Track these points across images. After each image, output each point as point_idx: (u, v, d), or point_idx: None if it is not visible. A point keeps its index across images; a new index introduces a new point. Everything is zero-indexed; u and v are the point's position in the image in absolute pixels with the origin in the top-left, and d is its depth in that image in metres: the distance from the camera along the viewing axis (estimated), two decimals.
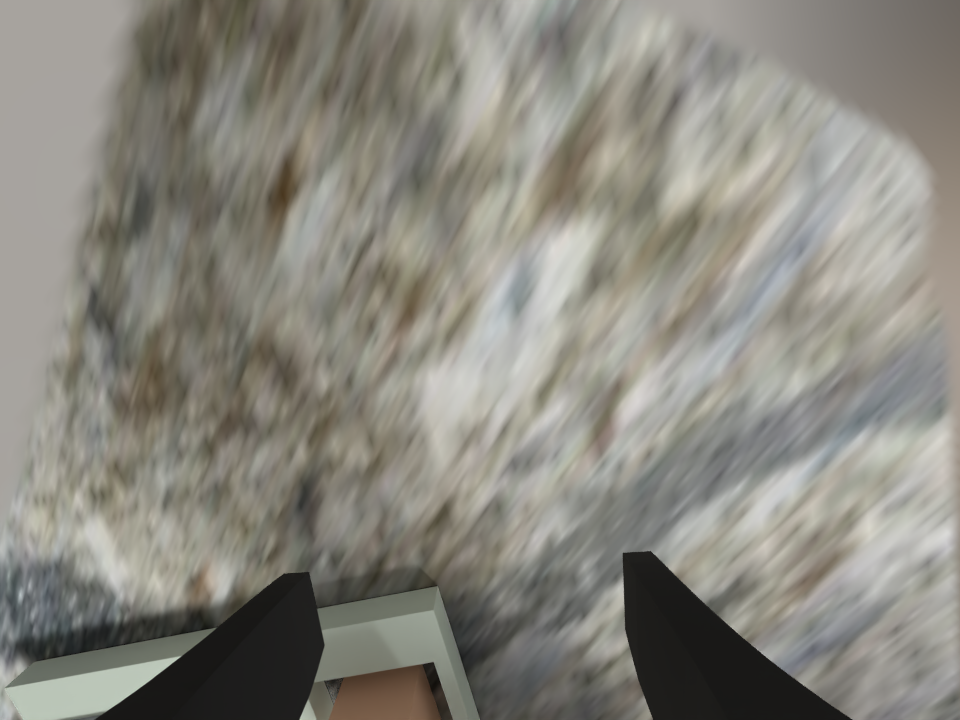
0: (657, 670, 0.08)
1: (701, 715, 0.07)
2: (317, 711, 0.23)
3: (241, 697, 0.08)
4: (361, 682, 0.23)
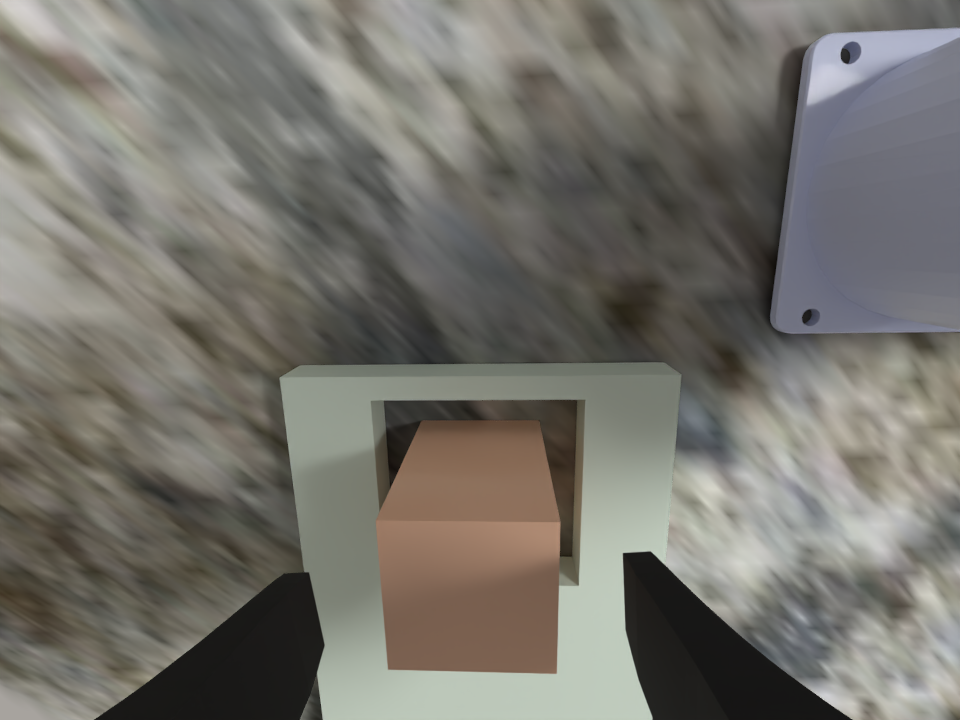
0: (657, 670, 0.08)
1: (701, 715, 0.07)
2: None
3: (241, 697, 0.08)
4: None
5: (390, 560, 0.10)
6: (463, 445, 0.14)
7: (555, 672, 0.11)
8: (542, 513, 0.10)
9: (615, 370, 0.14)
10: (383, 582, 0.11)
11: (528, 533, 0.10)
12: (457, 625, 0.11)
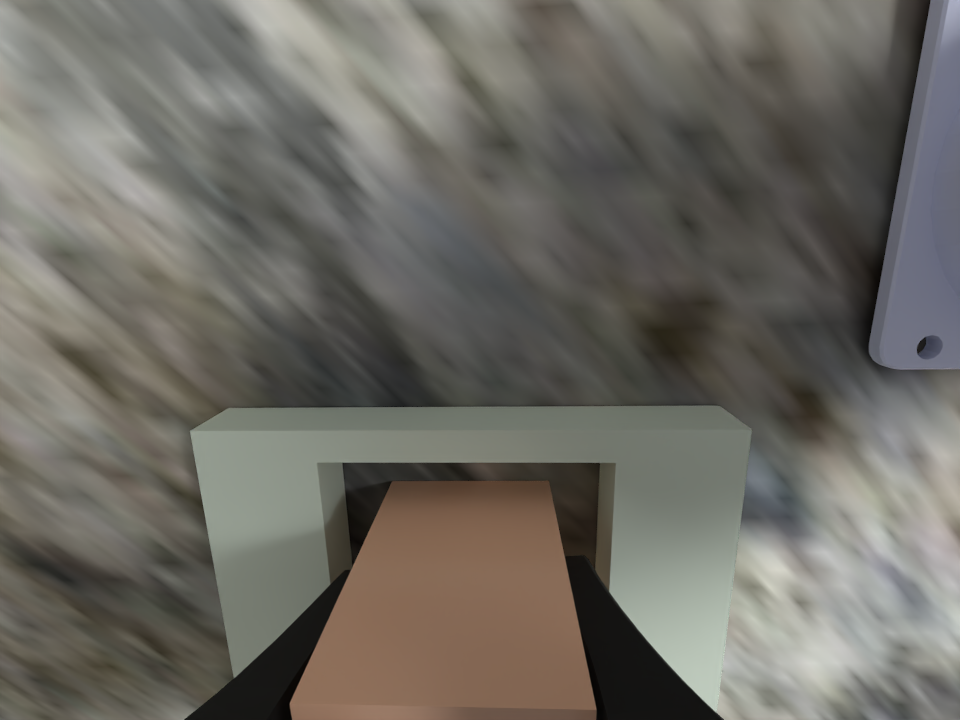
0: None
1: (599, 719, 0.07)
2: None
3: None
4: None
5: None
6: (444, 528, 0.10)
7: None
8: (565, 685, 0.06)
9: (656, 420, 0.10)
10: None
11: None
12: None
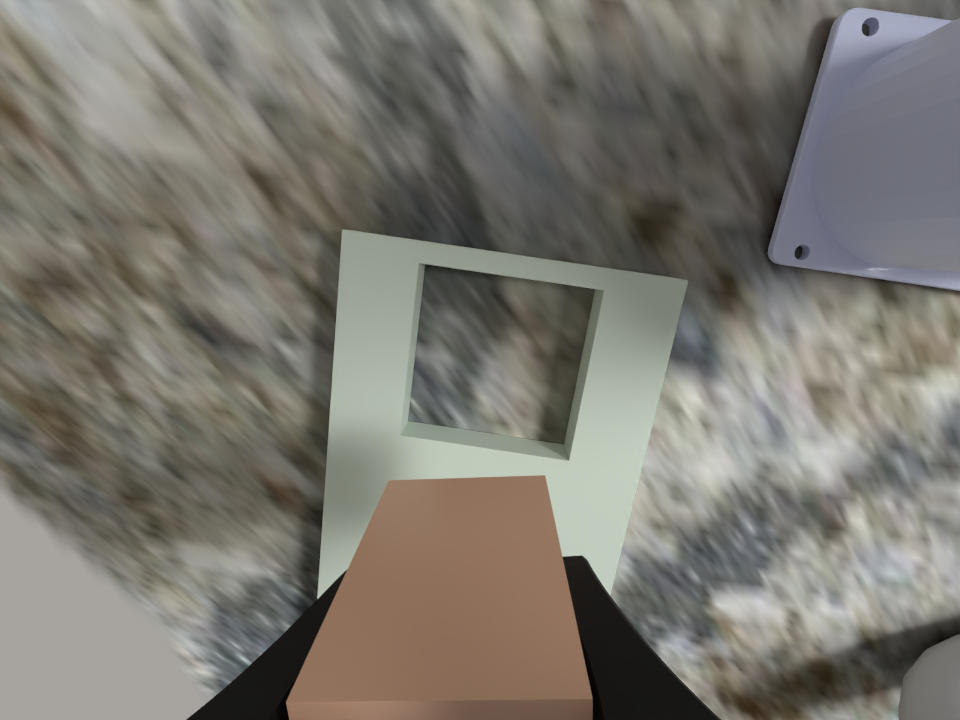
0: None
1: (597, 719, 0.07)
2: (451, 440, 0.18)
3: None
4: None
5: None
6: (440, 524, 0.10)
7: None
8: (562, 675, 0.06)
9: None
10: None
11: (540, 716, 0.06)
12: None
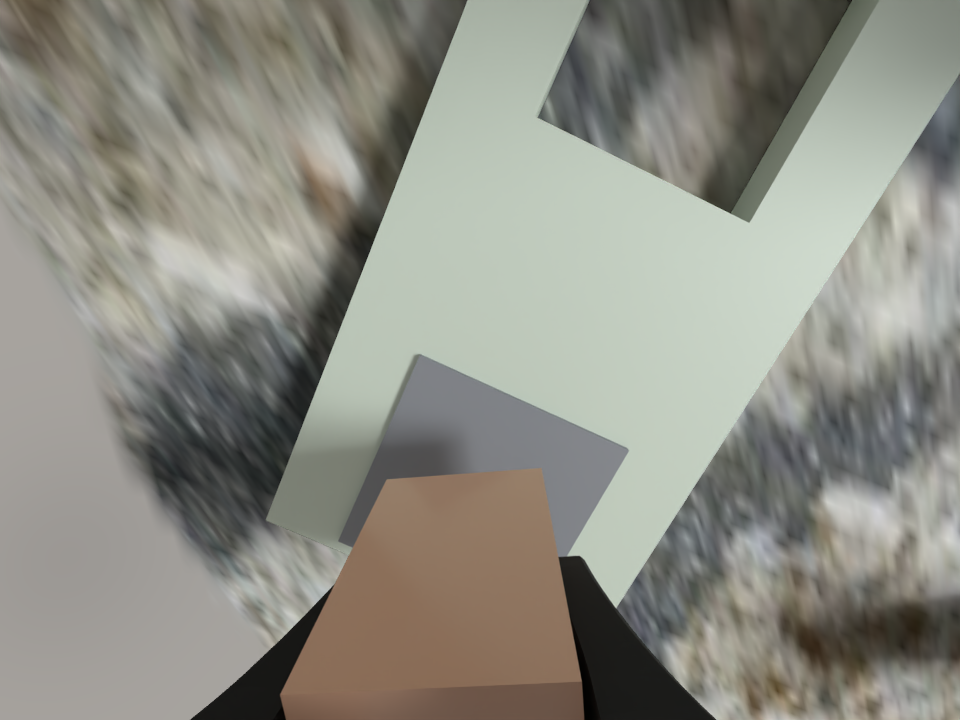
0: None
1: (593, 719, 0.07)
2: (599, 151, 0.13)
3: None
4: None
5: None
6: (436, 520, 0.10)
7: None
8: (552, 660, 0.06)
9: None
10: None
11: (530, 700, 0.06)
12: None
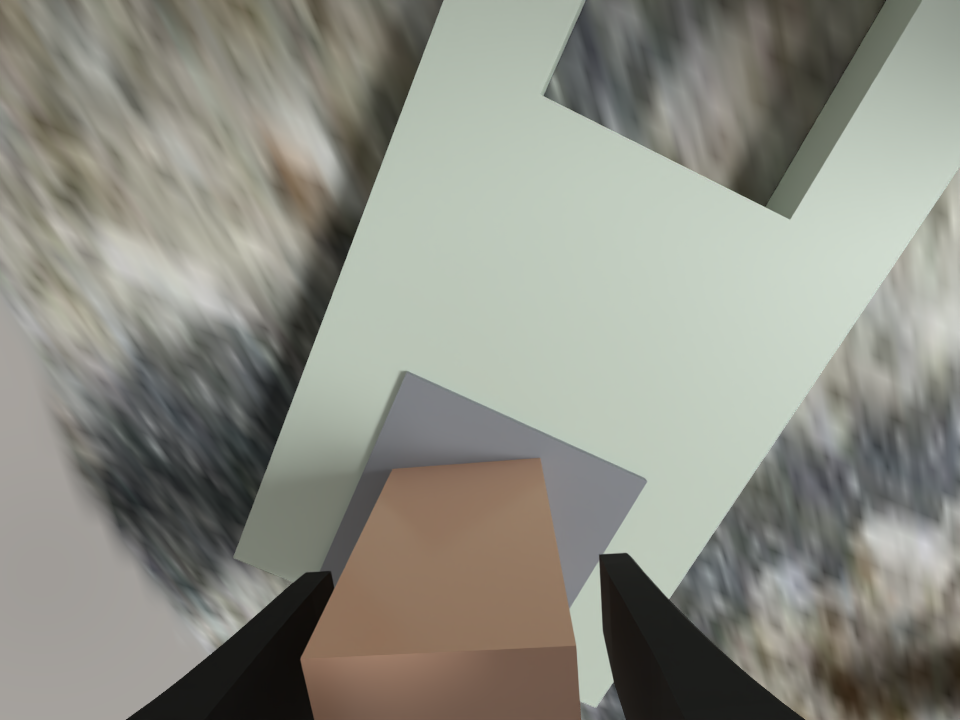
0: (628, 671, 0.08)
1: (664, 717, 0.07)
2: (615, 136, 0.11)
3: (270, 696, 0.08)
4: None
5: (329, 712, 0.07)
6: (441, 506, 0.10)
7: None
8: (548, 627, 0.07)
9: None
10: None
11: (529, 663, 0.07)
12: None
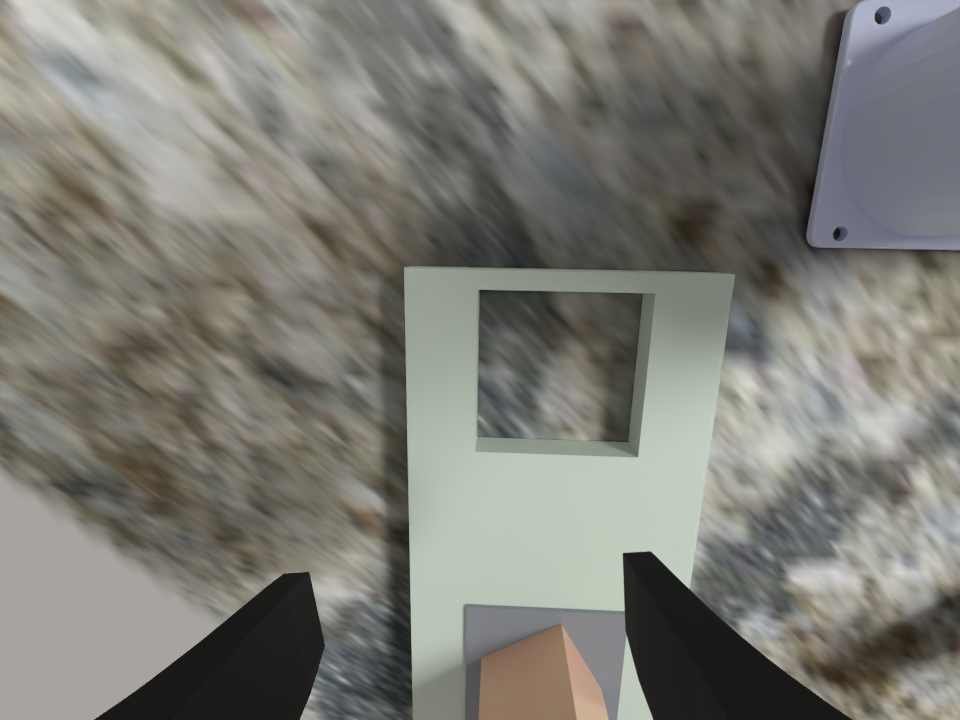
0: (657, 670, 0.08)
1: (701, 715, 0.07)
2: (523, 450, 0.19)
3: (241, 697, 0.08)
4: None
5: None
6: (513, 687, 0.19)
7: None
8: None
9: (679, 272, 0.17)
10: None
11: None
12: None
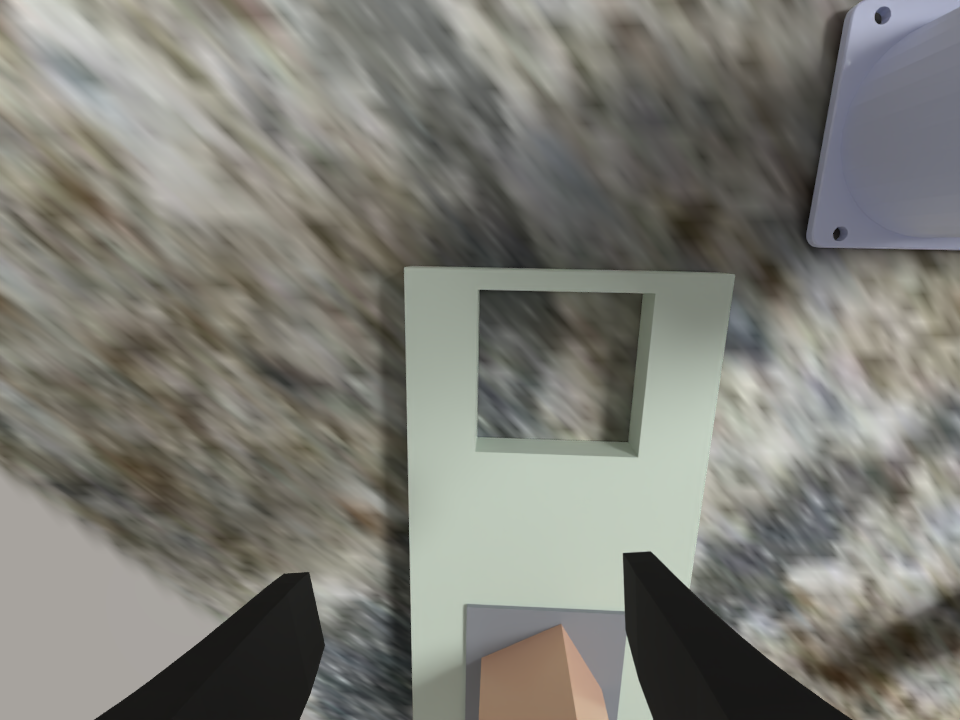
0: (657, 670, 0.08)
1: (701, 715, 0.07)
2: (523, 450, 0.19)
3: (241, 697, 0.08)
4: None
5: None
6: (514, 687, 0.19)
7: None
8: None
9: (679, 272, 0.17)
10: None
11: None
12: None
